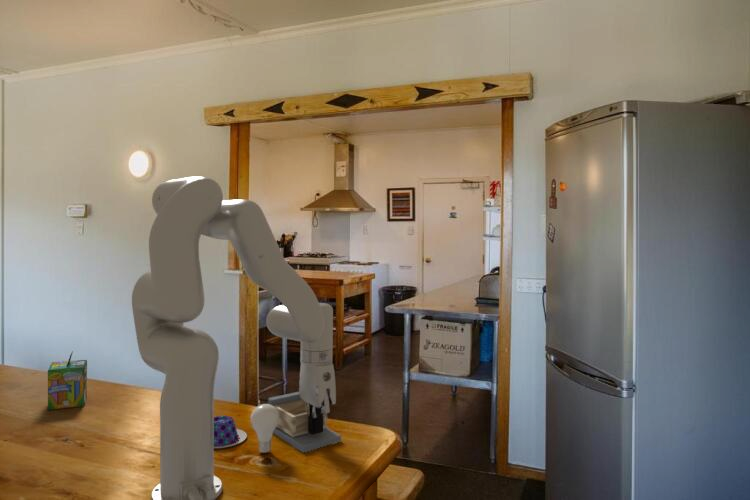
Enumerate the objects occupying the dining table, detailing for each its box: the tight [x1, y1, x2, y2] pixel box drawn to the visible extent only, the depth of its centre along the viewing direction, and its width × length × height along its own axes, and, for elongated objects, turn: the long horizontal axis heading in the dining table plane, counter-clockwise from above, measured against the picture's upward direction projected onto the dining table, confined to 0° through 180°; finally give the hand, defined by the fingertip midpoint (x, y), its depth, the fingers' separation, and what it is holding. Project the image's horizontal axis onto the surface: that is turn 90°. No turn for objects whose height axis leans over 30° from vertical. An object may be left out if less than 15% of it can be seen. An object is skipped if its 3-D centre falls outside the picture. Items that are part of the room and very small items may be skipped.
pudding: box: [214, 415, 248, 449], centre depth 123 cm, size 12×12×5 cm
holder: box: [274, 399, 328, 437], centre depth 127 cm, size 10×10×5 cm
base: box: [267, 391, 342, 454], centre depth 125 cm, size 18×10×8 cm, turn 39°
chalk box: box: [47, 351, 88, 411], centre depth 146 cm, size 9×9×15 cm
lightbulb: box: [250, 403, 279, 454], centre depth 115 cm, size 6×6×11 cm
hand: (315, 432), depth 121 cm, fingers closed
